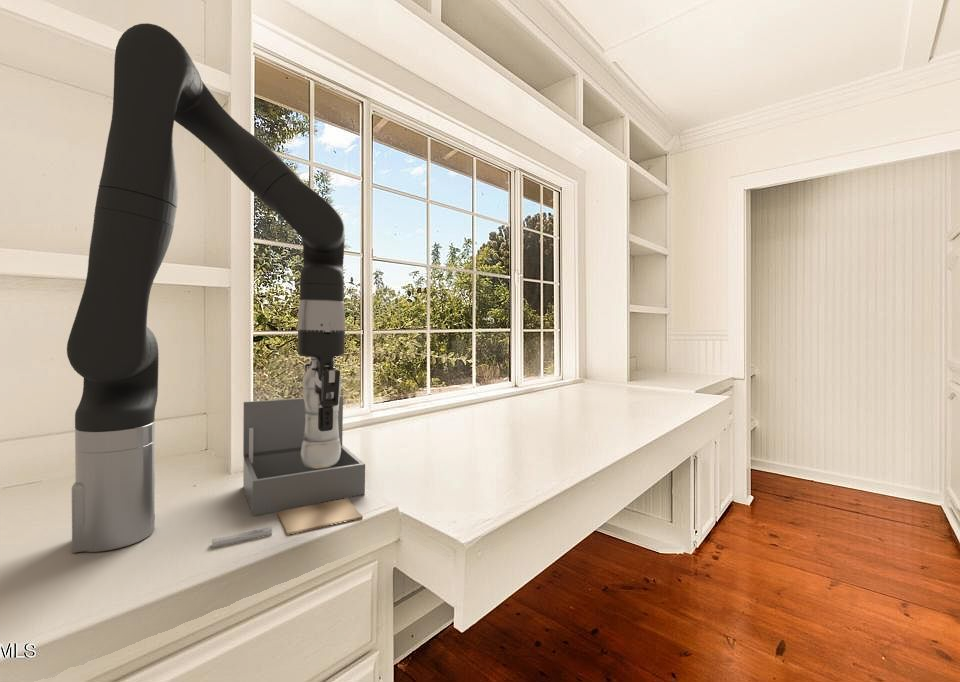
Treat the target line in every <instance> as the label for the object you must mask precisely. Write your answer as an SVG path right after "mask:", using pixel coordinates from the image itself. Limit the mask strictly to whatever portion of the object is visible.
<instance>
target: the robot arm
mask: <svg viewBox="0 0 960 682" xmlns="http://www.w3.org/2000/svg"><path fill="white" fill-rule="evenodd" d="M113 63H114V66H113V67H114V68H113V73H114V74H113V94H112V95H113V96H112V97H113V99H112V100H113V101H112V113H111V120H110V121H111V122H110V127H109V131H108V136H107V142H106V146H105V153H104V159H103V166H102V171H101V176H100V180H99V185H98V190H97V195H96V202H95V208H94V215H93V222H92V224H93V225H92V230H91V235H90V236H91V237H90V245H89V253H88V262H87V273H86V278H85V279H86V280H85V284H84V288H83V292H82V295H81V297H80V301H79V305H78V308H77V311H76V315H75V317H74V321H73V323H72V327H71V330H70V333H69V336H68V340H67V342H66V343H67V344H66V355H67V359H68V362H69V364H70V366H71V368H73V370H74V371H75V372H76V373H77V374H78V375H79V376H81V377H82V378H83V388H82V389H83V390H82V395H81V399H80V402H79V403H78V406H77V408H76V410H75V413H74V437H75V438H74V439H75V440H74V441H75V442H74V447H75V449H74V454H75V463H74V465H75V470H74V471H75V473H74V474H75V482H74V483H73V484H72V486H71V552H72V553H75V554H76V553H79V552H90V553H91V552H92V553H94V552H98V553H99V552H105V551H111V550H116V549H120V548H125V547H128V546H130V545H133V544H136V543H138V542H140V541H143V540H144V539H146V538H148V537H150V536H151V535H152V534H153V533H154V532H155V526H156V525H155V521H156V514H155V512H156V511H155V507H156V505H155V503H156V501H155V498H156V497H155V494H156V493H155V488H156V487H155V486H156V485H155V483H156V480H155V476H156V475H155V463H156V462H155V461H156V459H155V457H156V456H155V452H156V451H155V449H156V448H155V445H156V444H155V443H156V442H155V436H156V435H155V419H156V418H155V412H156V407H157V402H158V394H159V393H158V392H159V345H158V341H157V338H156V336H155V334H154V332H153V331H152V330H151V329H150V328H149V327H148V325H147V323H148V310H149V301H150V295H151V291H152V286H153V283H154V281H155V278H156V276H157V274H158V272H159V269H160V268H161V265H162V263H163V261H164V259H165V257H166V253H167V251H168V249H169V245H170V243H171V240H172V235H173V231H174V226H175V219H176V215H177V208H178V199H179V198H178V195H179V191H178V190H179V189H178V176H177V166H176V160H175V152H174V151H175V150H174V140H173V139H174V138H173V137H174V136H173V135H174V134H173V133H174V124H175V122H176V123H177V124H178V125H180V126H181V127H183V128H184V129H186V130H187V131H188V132H190V134H192V135H193V136H194V137H195V138H197V139H198V140H200V142H201V143H202V144H204V145H205V146H206V147H207V148H208V149H210V151H212V153H214V155H216V157H218V159H219V160H221V162H222V163H224V164H225V166H227V167H228V169H229V170H230V171H231V172H232V173H233V174H234V175H235V176H236V177H237V178H238V179H239V180H240V181H241V182H242V183H243V184H244V185H245V186H246V187H247V189H249V190H250V191H251V192H253V194H254V195H255V196H257V198H258V199H259V200H261V201H262V203H263V204H265V205H266V206H267V207H268V208H269V209H270V210H272V211H273V212H275V213H277V214H279V215H280V216H281V218H282V219H284V220H285V222H286V223H287V224H288V225H289V226H290V227H291V228H292V229H293V230H294V231H295V232H296V233H297V234H298V235H299V236H300V237H301V238H302V248H303V249H302V251H303V252H302V253H303V256H302V258H303V259H302V262H303V263H302V264H303V265H302V266H303V267H302V269H301V271H300V277H299V305H298V313H297V354H298V356H300V357H307V358H311V357H315V358H316V359H317V362H316V366H317V367H316V368H311V369H310V370H311V374H312V377H315V374H316V371H317V372H318V378H319V380H320V381H322V389H320V388H319V387H318V386H317V385H316V383H315V389H314V393H315V395H317V396H318V429H319V430H320V431H330V430H332V429H333V408H334V407H335V406H337V405H338V396H339V380H340V375H341V372H340V370H339V369H337V368H336V367H335V365H334V361H333V357H334V358H335V357H342V356H345V352H346V351H345V349H346V344H345V343H346V342H345V341H346V337H345V336H346V310H345V302H344V299H345V298H344V297H345V281H344V279H345V277H344V273H343V271H344V269H343V268H344V257H345V256H344V255H345V241H346V234H345V233H346V231H345V224H344V220H343V219H342V216H341V215H340V214H339V212H338V211H337V210H336V209H335V208H334V207H333V206H332V205H331V204H330V203H329V202H328V201H326V200H325V199H324V198H323V197H322V196H321V195H319V193H317V192H316V191H315V190H313V189H312V188H311V187H309V186H308V185H307V184H306V183H304V181H303V179H301V178H300V177H299V175H298V174H297V173H296V172H295V171H294V170H293V169H292V168H291V167H290V166H289V165H288V164H287V163H286V162H285V161H284V160H283V159H282V158H281V157H280V156H278V154H277V153H276V152H274V151H273V150H272V149H271V148H270V147H269V146H268V145H267V144H265V143H264V142H263V141H261V140H260V139H259V138H258V137H256V136H255V135H254V134H252V133H251V132H249V131H248V130H247V129H245V128H244V127H243V126H242V125H241V124H239V123H238V122H237V121H236V120H235V119H234V118H233V117H232V116H231V115H230V114H229V113H228V112H227V111H226V110H225V109H224V108H223V106H222V105H221V104H220V103H219V102H218V101H217V99H216V98H215V97H214V95H213V94H212V92H211V91H210V90H209V88H208V87H207V86H206V84H205V83H204V82H203V80H202V76H201V75H200V73H199V70H198V69H197V67H196V65H195V63H194V61H193V60H192V57H191V56H190V55H189V53H188V52H187V50H186V48H185V47H184V45H183V44H182V43H181V42H180V41H179V40H178V38H176V36H174V35H173V34H172V33H171V32H170V31H168V30H167V29H165V28H164V27H162V26H159V25H157V24H153V23H138V24H135V25H132V26H131V27H129V28H127V29H126V30H125V31H124V32H123V33H122V35H121V36H120V38H119V39H118V41H117V44H116V48H115V52H114V62H113ZM311 366H312V361H310V360H309V362H306V363H305V365H304V369H305V374H306V372H307V371H308V369H309V368H310V367H311ZM336 369H337V370H336ZM305 374H304V375H305ZM314 382H315V379H314ZM326 393H329V394H330V399H326Z"/></svg>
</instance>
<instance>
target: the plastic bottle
mask: <svg viewBox="0 0 960 682" xmlns="http://www.w3.org/2000/svg"><path fill="white" fill-rule="evenodd" d="M309 358H310V360H309V362H310V361H312V366H311V367H310V368H309V369H308V371H307V372H306V374H304V375H303V379H302V381H301V385H302V386H301V387H302V394H303V398H304V403H305V428H304V437H303V442H302V446H301V452H300V455H301V461H302V463H303V464H304V466H305V467H307V468H315V469H317V468H326V467H330V466H333V465H335V464H336V463H337V462H338V460H339V459H340V454H341V444H340V439H339V429H338V411H339V400H340V396H341V393H342V386H343V379H342V376H341V374H340V380H339V396H338V405H337V406H335V407H334V408H333V429H332V430H330V431H320V430H319V429H318V396H317V395H315V393H314V389H315V383H316V385H317V386H318V387H319V388H320V389H322V381H320V380H319V378H318V372H317V371H316V374H315V377H312V374H311V370H310V369H311V368H316V367H317V366H316V362H317V359H316V358H315V357H309ZM333 362H335V357H333ZM336 370H338V369H337V368H336ZM314 379H315V382H314ZM326 399H330V394H329V393H326Z"/></svg>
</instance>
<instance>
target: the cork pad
mask: <svg viewBox="0 0 960 682" xmlns="http://www.w3.org/2000/svg"><path fill="white" fill-rule="evenodd" d="M277 515H278V518H279V519H280V522H281V525H282V527H283V529H284V531H285V534H286V536H291V535H290V534H292V535H296V534H300V533H299V532H301V533H303V531H305V532H308V531H307V530H310V531H313V529H314V530H317V528H319V529H322V528H321V527H323V528H326V527H325V526H327V527H329V526H328V525H331V524H335V523H339V522H344V521H350V520H354V521H357V520H356V519H359V520H363V519H362V518H363V515H362V514H361V512H360V511H359V510H358V509H357V508H356V507H355V505H353V503H352V502H351V501H350V500H349V498H344V499H339V500H333V501H328V502H323V503H318V504H313V505H307V506H302V507H297V508H292V509H287V510H281V511H277ZM350 522H351V521H350ZM295 533H296V534H295Z"/></svg>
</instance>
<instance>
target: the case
mask: <svg viewBox="0 0 960 682" xmlns="http://www.w3.org/2000/svg"><path fill="white" fill-rule="evenodd" d="M343 406H344V396H343V395H341V394H340V400H339V411H338V429H339V439H340V444H341V454H340V459H339V460H338V462H337V463H336V464H335V465H333V466H330V467H326V468H317V469H315V468H307V467H305V466H304V464H303V463H302V461H301V455H300V452H301V446H302V442H303V437H304V428H305V403H304V397H299V398H283V399H281V398H280V399H269V400H268V399H267V400H253V401H249V400H248V401H243V417H242V419H243V420H242V422H243V424H242V425H243V428H242V429H243V430H242V431H243V432H242V434H243V435H242V436H243V437H242V438H243V440H242V446H243V447H242V454H243V456H242V457H243V477H242V478H243V479H242V480H243V485H242V486H243V487H242V488H243V489H244V494H245V496H246V499H247V502H248V507H249V509H250V512H251V515H252V517H257V516H260V515H265V514H269V513H276V512H279V511H284V510H289V509H294V508H300V507H305V506H310V505H315V504H317V503H318V504H320V503H322V502H323V503H325V502H327V501H328V502H331V500H333V501H336V499H339V500H341V498H344V499H346V498H347V497H349V498H353V497H352V496H354V497H357V496H356V495H359V496H362V495H361V494H365V495H366V493H365V492H366V463H365V462H363V461H362V460H361V459H360V458H359V457H358V456H356V455H355V454H354V453H353V452H351V451H350V449H348V448H347V447H346V446H344V444H343V431H344V430H343V429H344V428H343V421H344V420H343V419H344V411H343V410H344V407H343ZM347 499H348V498H347Z"/></svg>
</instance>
